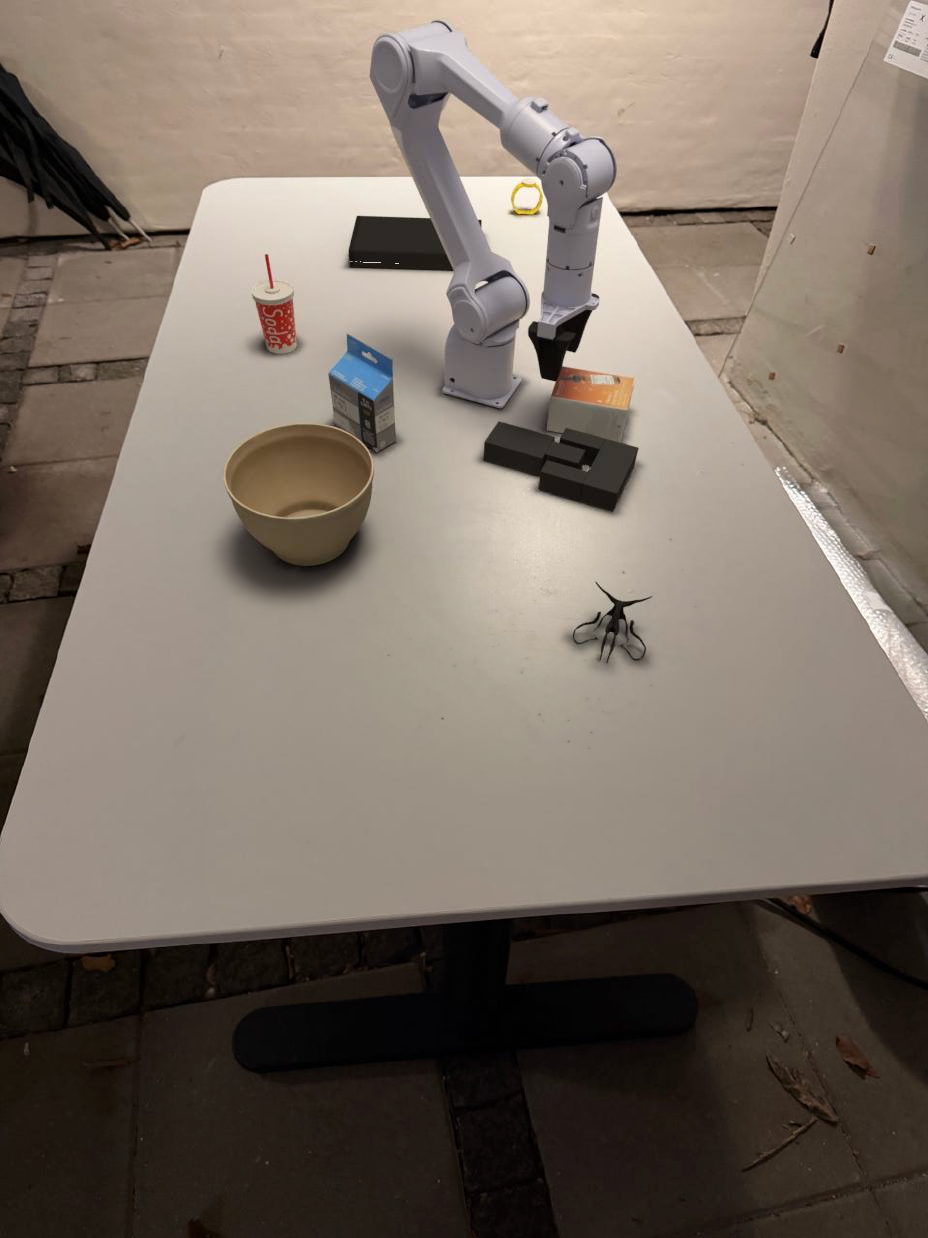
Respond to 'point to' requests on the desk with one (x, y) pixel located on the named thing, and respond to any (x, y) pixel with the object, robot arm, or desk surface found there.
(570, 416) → the small box
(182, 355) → the desk surface
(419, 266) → the black electronic device box
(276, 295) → the beverage cup
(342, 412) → the ink cartridge box
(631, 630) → the creature
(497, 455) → the pad
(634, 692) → the desk surface
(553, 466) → the notch pad
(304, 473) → the planter bowl
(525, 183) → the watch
